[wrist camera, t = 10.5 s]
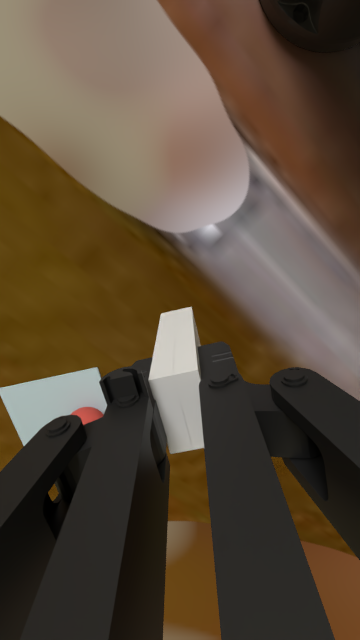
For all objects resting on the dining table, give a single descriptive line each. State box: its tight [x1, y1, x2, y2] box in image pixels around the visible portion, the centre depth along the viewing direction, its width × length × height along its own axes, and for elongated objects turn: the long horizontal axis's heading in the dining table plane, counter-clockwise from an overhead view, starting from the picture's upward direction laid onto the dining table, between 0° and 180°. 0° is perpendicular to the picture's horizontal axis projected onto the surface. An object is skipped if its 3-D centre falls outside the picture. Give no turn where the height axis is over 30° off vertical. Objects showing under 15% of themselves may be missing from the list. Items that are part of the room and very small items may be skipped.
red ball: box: [70, 407, 104, 425], centre depth 44 cm, size 6×6×6 cm
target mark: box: [0, 367, 107, 446], centre depth 46 cm, size 14×14×1 cm
